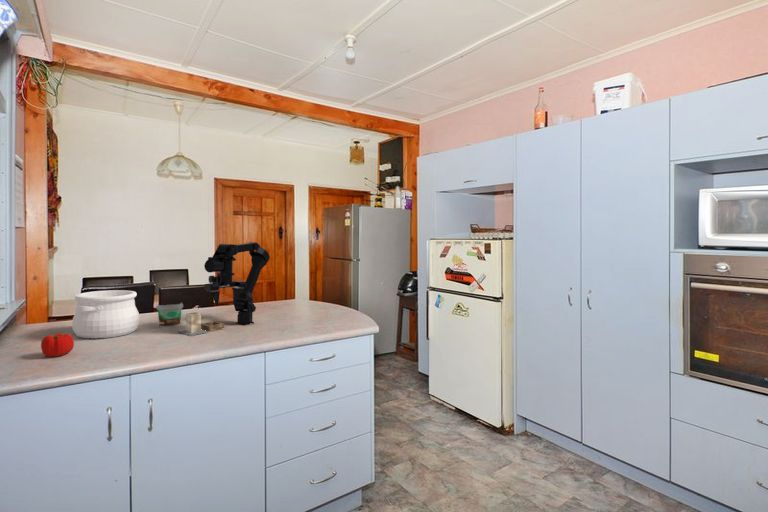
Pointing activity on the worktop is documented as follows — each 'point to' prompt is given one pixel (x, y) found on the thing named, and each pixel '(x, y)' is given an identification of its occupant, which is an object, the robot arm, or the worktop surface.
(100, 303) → the pot
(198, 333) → the slate mat
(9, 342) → the worktop surface
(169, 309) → the food container
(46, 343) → the tomato
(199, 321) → the birch block
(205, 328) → the walnut pocket
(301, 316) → the worktop surface
